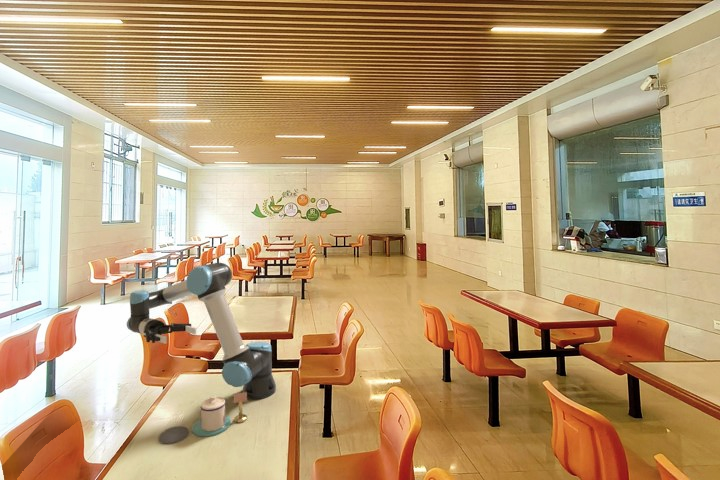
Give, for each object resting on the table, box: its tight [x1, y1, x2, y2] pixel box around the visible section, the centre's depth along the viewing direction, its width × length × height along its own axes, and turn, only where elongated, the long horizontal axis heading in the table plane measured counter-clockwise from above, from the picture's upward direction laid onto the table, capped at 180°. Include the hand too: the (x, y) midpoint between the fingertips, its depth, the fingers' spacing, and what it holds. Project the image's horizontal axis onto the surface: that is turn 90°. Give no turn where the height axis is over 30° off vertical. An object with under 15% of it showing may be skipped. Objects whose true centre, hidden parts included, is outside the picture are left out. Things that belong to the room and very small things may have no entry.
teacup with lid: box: [200, 395, 226, 431], centre depth 143 cm, size 12×9×12 cm
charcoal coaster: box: [158, 425, 190, 445], centre depth 137 cm, size 10×10×1 cm
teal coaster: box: [191, 415, 231, 438], centre depth 143 cm, size 14×14×1 cm
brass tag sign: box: [233, 391, 248, 424], centre depth 148 cm, size 5×5×11 cm
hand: (181, 335), depth 154 cm, fingers open, 13 cm apart
